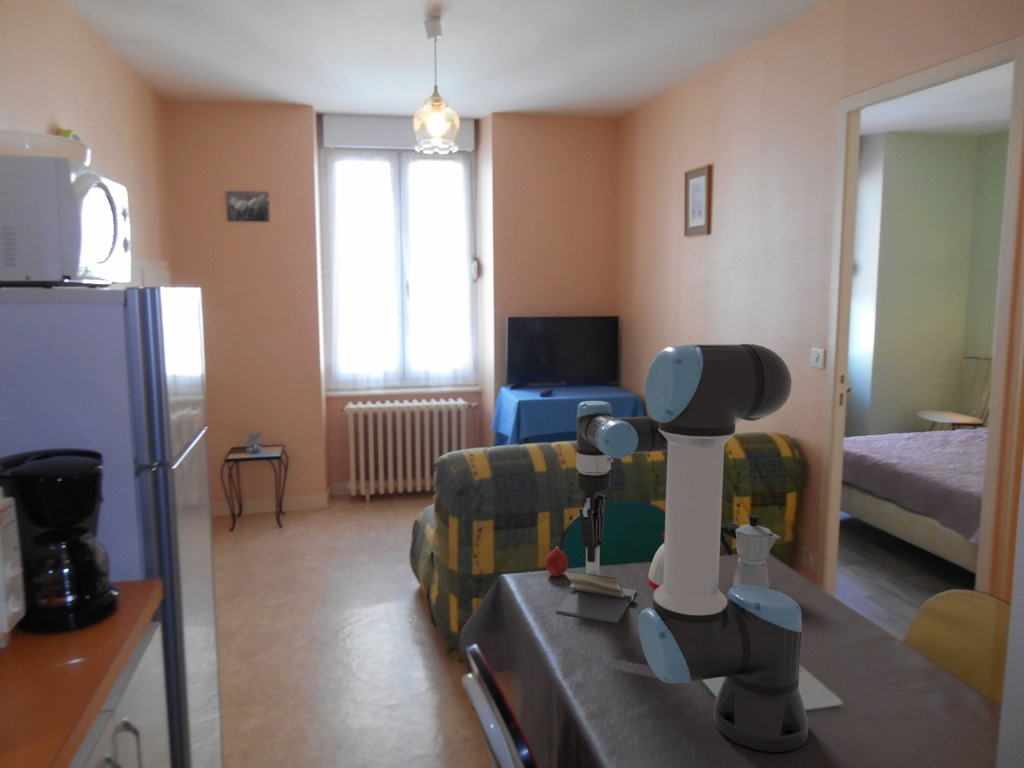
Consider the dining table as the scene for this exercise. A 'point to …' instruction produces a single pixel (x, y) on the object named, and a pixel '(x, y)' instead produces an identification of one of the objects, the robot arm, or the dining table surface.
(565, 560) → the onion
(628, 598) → the hinge blocks
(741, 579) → the coffee maker
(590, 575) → the flap
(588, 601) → the base plate
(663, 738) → the dining table surface
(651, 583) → the kitchen timer
